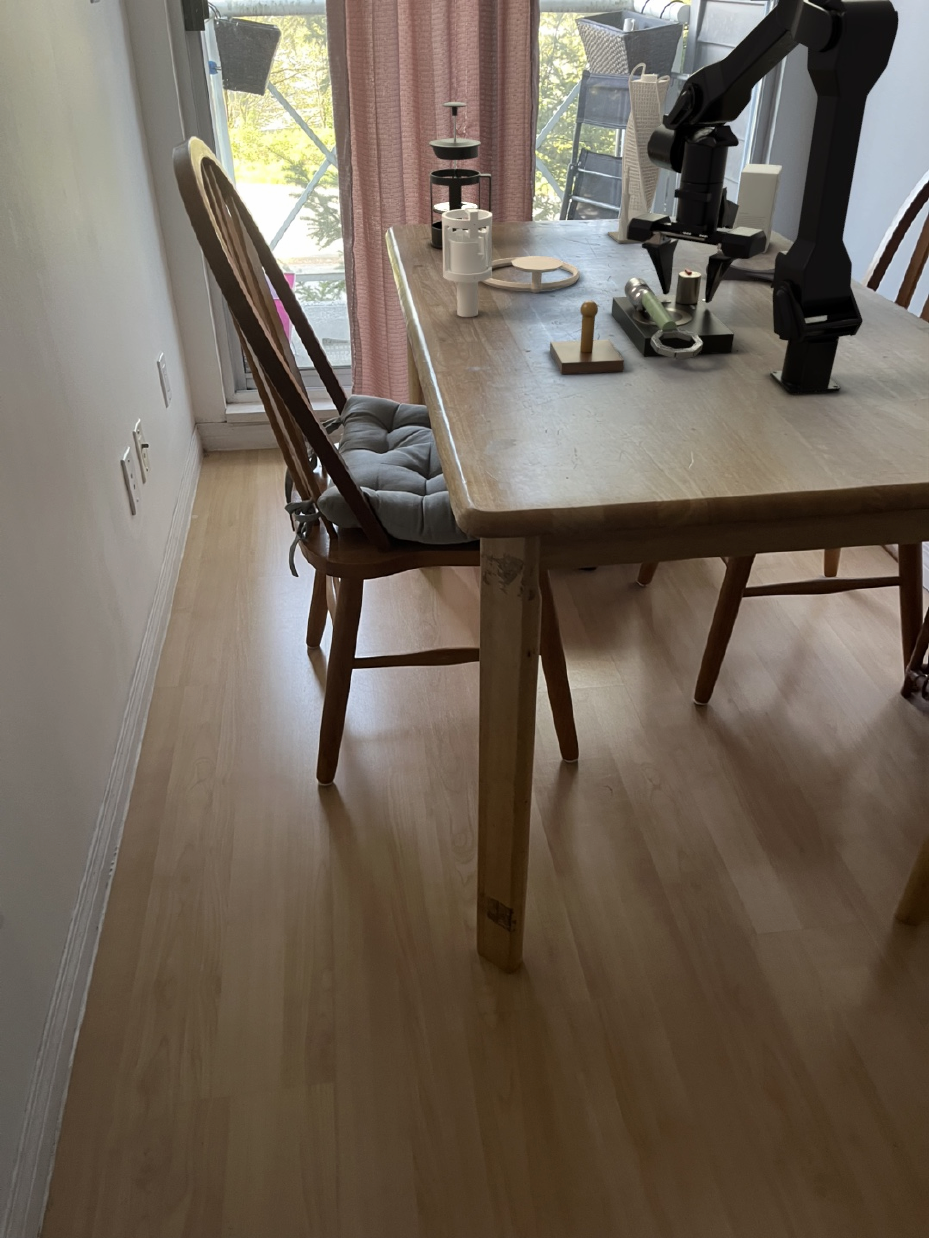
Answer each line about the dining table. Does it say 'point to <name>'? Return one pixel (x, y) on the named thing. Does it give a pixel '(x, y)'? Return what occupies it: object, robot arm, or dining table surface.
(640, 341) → the stove
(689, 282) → the burner knob
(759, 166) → the small box
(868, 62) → the robot arm
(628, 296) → the green handled ring tool
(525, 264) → the hand towel holder
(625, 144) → the skyscraper
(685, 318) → the burner
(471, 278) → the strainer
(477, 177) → the french press
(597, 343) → the peg stand
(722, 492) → the dining table surface
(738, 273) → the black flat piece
